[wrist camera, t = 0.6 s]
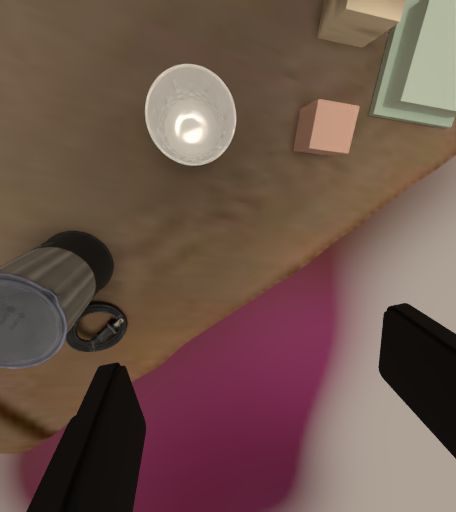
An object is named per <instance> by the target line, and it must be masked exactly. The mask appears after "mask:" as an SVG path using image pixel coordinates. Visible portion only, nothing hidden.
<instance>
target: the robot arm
mask: <svg viewBox="0 0 456 512" xmlns="http://www.w3.org/2000/svg"><path fill="white" fill-rule="evenodd" d="M379 372H380V374H381V376H382V377H383V379H384V380H385V381H386V382H387V383H388V384H389V385H390V386H391V388H393V390H394V391H395V392H396V393H397V394H398V395H399V396H400V398H401V399H402V400H403V401H404V402H405V403H406V404H407V405H408V406H409V407H410V408H411V410H412V411H413V412H414V413H415V414H416V415H417V416H418V417H419V418H420V420H421V421H422V422H423V423H424V424H425V425H426V426H427V427H428V428H429V430H430V431H431V432H432V433H433V434H434V435H435V436H436V437H437V438H438V439H439V441H440V442H441V443H442V444H443V445H444V446H445V447H446V448H447V449H448V451H450V453H451V454H452V455H453V456H454V457H455V458H456V334H455V333H453V332H451V331H450V330H449V329H447V328H445V327H444V326H442V325H441V324H439V323H438V322H436V321H434V320H433V319H431V318H430V317H428V316H427V315H425V314H423V313H422V312H420V311H419V310H417V309H415V308H414V307H412V306H411V305H409V304H406V303H403V304H399V305H394V306H390V307H388V308H387V311H386V312H385V313H384V318H383V328H382V338H381V348H380V359H379ZM145 434H146V423H145V419H144V416H143V413H142V411H141V408H140V405H139V402H138V400H137V397H136V394H135V391H134V388H133V386H132V383H131V380H130V377H129V374H128V372H127V369H126V367H125V366H120V364H119V363H112V364H107V365H102V366H100V367H98V369H97V371H96V373H95V375H94V377H93V380H92V382H91V384H90V386H89V388H88V391H87V393H86V395H85V397H84V399H83V401H82V404H81V406H80V408H79V410H78V412H77V415H76V416H74V417H73V418H72V419H71V420H70V422H69V423H68V425H67V427H66V429H65V431H64V434H63V436H62V438H61V440H60V442H59V444H58V446H57V449H56V451H55V453H54V455H53V457H52V459H51V461H50V463H49V465H48V467H47V470H46V472H45V474H44V476H43V478H42V480H41V482H40V484H39V486H38V489H37V491H36V493H35V495H34V497H33V499H32V501H31V503H30V505H29V508H28V510H27V512H133V505H134V500H135V494H136V488H137V481H138V476H139V469H140V464H141V458H142V452H143V446H144V440H145Z"/></svg>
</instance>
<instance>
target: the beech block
mask: <svg viewBox="0 0 456 512" xmlns="http://www.w3.org/2000/svg"><path fill="white" fill-rule="evenodd" d="M405 1H406V0H324V3H323V9H322V14H321V20H320V25H319V31H318V36H317V38H319V39H324V40H328V41H333V42H337V43H342V44H346V45H351V46H356V47H360V48H363V47H365V46H366V45H368V44H369V43H370V42H372V41H373V40H375V39H376V38H378V37H379V36H380V35H382V34H383V33H385V32H386V31H388V30H389V29H391V28H392V27H393V26H395V25H396V24H398V23H399V22H400V20H401V16H402V12H403V8H404V5H405Z"/></svg>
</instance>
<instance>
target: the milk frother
mask: <svg viewBox="0 0 456 512" xmlns="http://www.w3.org/2000/svg"><path fill="white" fill-rule="evenodd" d="M112 273H113V261H112V257H111V254H110V253H109V251H108V249H107V248H106V246H105V245H104V244H103V243H102V242H100V241H99V240H98V239H96V238H95V237H93V236H91V235H89V234H86V233H83V232H77V231H67V232H62V233H59V234H56V235H55V236H53V237H51V238H50V239H48V240H47V241H46V242H45V243H43V244H42V245H41V246H39V247H37V248H35V249H33V250H31V251H29V252H28V253H25V254H23V255H21V256H19V257H17V258H15V259H14V260H12V261H10V262H8V263H6V264H4V265H2V266H0V368H7V369H22V368H28V367H32V366H36V365H38V364H41V363H43V362H46V361H47V360H48V359H50V358H51V357H53V356H54V355H55V354H56V353H57V352H58V351H59V350H60V348H61V347H62V345H63V344H64V342H65V339H66V341H67V343H68V344H69V345H70V346H71V347H72V348H74V349H76V350H78V351H83V352H96V351H101V350H104V349H108V348H110V347H112V346H114V345H115V344H117V343H118V342H119V341H120V340H121V339H122V337H123V336H124V334H125V331H126V320H125V317H124V315H123V314H122V313H121V312H120V311H119V310H118V309H117V308H115V307H114V306H112V305H110V304H104V303H96V304H90V305H88V304H89V303H90V301H91V300H92V299H93V297H94V296H95V295H96V293H97V292H98V291H99V290H100V289H102V288H103V287H104V286H105V285H106V284H107V283H108V282H109V280H110V278H111V276H112ZM93 312H105V313H108V314H111V315H112V316H114V317H115V318H116V321H115V323H113V322H112V321H110V320H109V321H108V323H107V325H106V326H105V327H104V328H103V329H102V330H101V331H100V332H97V334H96V336H95V337H93V338H92V339H91V340H84V339H81V338H80V337H79V336H78V335H77V329H76V328H77V324H78V322H79V320H80V319H81V318H82V317H83V316H85V315H87V314H89V313H93ZM113 333H115V334H114V335H113V336H112V337H110V338H109V339H107V340H106V341H104V339H105V338H107V337H109V336H110V335H112V334H113ZM100 341H102V342H100Z"/></svg>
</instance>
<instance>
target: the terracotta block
mask: <svg viewBox="0 0 456 512" xmlns="http://www.w3.org/2000/svg"><path fill="white" fill-rule="evenodd" d="M359 107H360V106H356V105H350V104H345V103H339V102H333V101H328V100H322V99H318V100H316V101H314V102H312V103H310V104H308V105H306V106H305V107H303V108H301V109H300V114H299V120H298V125H297V131H296V137H295V142H294V148H293V151H298V152H305V153H313V154H320V155H339V154H348V153H349V149H350V145H351V140H352V136H353V132H354V128H355V124H356V120H357V116H358V112H359Z"/></svg>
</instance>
